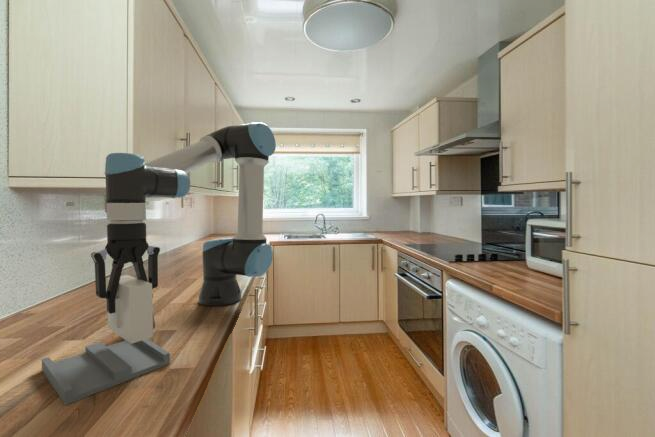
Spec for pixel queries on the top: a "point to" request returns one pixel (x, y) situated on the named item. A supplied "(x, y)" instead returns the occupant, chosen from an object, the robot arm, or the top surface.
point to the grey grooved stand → (102, 368)
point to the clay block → (133, 309)
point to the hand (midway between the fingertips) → (129, 322)
